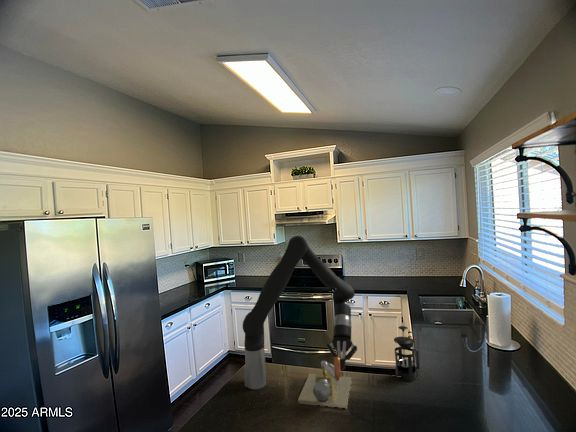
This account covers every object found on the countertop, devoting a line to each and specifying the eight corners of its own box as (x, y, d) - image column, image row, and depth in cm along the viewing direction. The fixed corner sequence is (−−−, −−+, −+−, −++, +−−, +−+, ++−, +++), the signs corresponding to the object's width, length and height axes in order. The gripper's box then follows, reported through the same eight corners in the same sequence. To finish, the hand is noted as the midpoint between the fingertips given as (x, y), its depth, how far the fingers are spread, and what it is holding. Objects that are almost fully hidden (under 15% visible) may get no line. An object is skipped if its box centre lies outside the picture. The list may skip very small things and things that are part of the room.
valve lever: (320, 364, 133) (318, 343, 133) (326, 363, 134) (324, 342, 134) (336, 384, 117) (335, 359, 117) (343, 382, 118) (341, 358, 118)
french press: (400, 382, 137) (397, 331, 137) (390, 372, 146) (387, 324, 147) (424, 379, 139) (421, 329, 139) (413, 369, 148) (410, 322, 148)
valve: (298, 403, 126) (296, 375, 126) (309, 376, 147) (308, 352, 147) (346, 409, 120) (345, 379, 120) (351, 380, 141) (350, 355, 142)
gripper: (326, 323, 131) (323, 365, 119) (357, 324, 128) (357, 367, 116) (328, 330, 136) (326, 371, 125) (358, 332, 133) (359, 374, 121)
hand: (341, 369), depth 120 cm, fingers closed
